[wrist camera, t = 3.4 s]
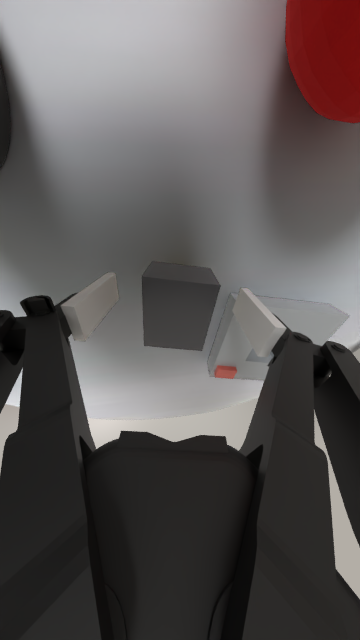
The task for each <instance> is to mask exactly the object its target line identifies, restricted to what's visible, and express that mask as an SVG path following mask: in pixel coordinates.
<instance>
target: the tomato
mask: <svg viewBox="0 0 360 640" xmlns="http://www.w3.org/2000/svg"><path fill="white" fill-rule="evenodd" d="M285 42H286V48H287V54H288V60H289V66H290V69H291V71H292V74H293V76H294V78H295V81H296V83H297V86H298V87H299V89H300V91H301V93H302V94H303V96H304V98H305V99H306V101H307V102H308V103H309V105H310V106H311V107H312V108H313V109H314V111H315V112H316V113H318V114H320V115H322V116H324V117H325V118H327V119H331V120H336V121H342V122H349V123H358V122H360V0H287V5H286V35H285Z"/></svg>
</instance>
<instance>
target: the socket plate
mask: <svg viewBox="0 0 360 640" xmlns="http://www.w3.org/2000/svg"><path fill="white" fill-rule="evenodd" d="M237 296H238V294H237V293H230V296H229V299H228V302H227V305H226V308H225V311H224V314H223V317H222V320H221V323H220V326H219V329H218V332H217V335H216V338H215V340H214V343H213V346H212V349H211V352H210V355H209V358H208V361H207V364H208V369H209V375H210V376H211V377H217V378H230V379H233V378H237V379H250V380H263V381H265V378H266V375H267V372H268V369H269V367H268V366H267V365H268V364H269V362H270V361H271V359H272V358H273V356H274V354H273V353H272V351H271V353H270V354H269V356H268V357H260V356H257V354H256V353H255V351H254V349H253V347H252V345H251V344H250V342H249V340H248V338H247V336H246V335H245V333H244V331H243V329H242V328H241V326H240V324H239V322H238V320H237V319H236V317H235V315H234V313H233V311H232V310H233V307H234V304H235V302H236V299H237ZM256 297H257V298H258V299H259V300H260V301H261V302H262V303H263V304H264V305H265V307H266V308H267V309H268V310H269V311H270V312H271V313H273V314H275V315H276V316H277V317H278V318H279V319H280V320H281V321H282V322H283V323H284V324H285V325H286V326H287V327H288V328H289V329H290V330H291V331H292V332H298V333H301V334H303V335H305V336H307V337H308V338H310V339H311V340H312V342H313V344H316V345H320V346H323V344H324V343H325V342H326V341H327V340H328V339H329V338H330V337H331V336H332V335H333V334H334V333H335V332H336V331H337V329H338V328H339V327H340V326H341V325H342V324H343V323H344V322H345V321H346V320H347V319H348V318H349V317H350V315H348V314H346V313H344V312H343V311H341V310H339V309H337V308H336V307H334V306H332V305H330V304H325V303H316V302H308V301H299V300H290V299H281V298H272V297H263V296H256Z"/></svg>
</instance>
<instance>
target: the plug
mask: <svg viewBox="0 0 360 640" xmlns="http://www.w3.org/2000/svg"><path fill="white" fill-rule="evenodd" d="M220 286H221V285H220V284H219V282H218V280H217V279H216V277H215V275H214V274H213V272H212V270H211V269H210V268H204V267H196V266H188V265H179V264H171V263H163V262H155V261H152V262H151V264H150V265H149V267H148V268H147V270H146V271H145V273H144V274H143V275H142V296H143V326H144V346H152V347H163V348H175V349H186V350H198V351H202V349H203V345H204V342H205V338H206V335H207V331H208V328H209V324H210V321H211V317H212V314H213V310H214V307H215V303H216V300H217V296H218V293H219V289H220Z"/></svg>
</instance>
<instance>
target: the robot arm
mask: <svg viewBox="0 0 360 640" xmlns="http://www.w3.org/2000/svg"><path fill="white" fill-rule="evenodd" d="M9 141H10V110H9V101H8V95H7V89H6V84H5V79H4V75H3V71H2V67H1V63H0V168H1V166H2V164H3V162H4V160H5V158H6V155H7V151H8V147H9ZM118 300H119V294H118V287H117V279H116V273H110V272H107V273H106V274H104V275H103V276H102V277H100V278H99V279H97V280H96V281H94V282H93V283H92V284H90V285H89V286H87V287H86V288H85V289H83V290H82V291H80V292H78V293H75V294H72V295H70V296H69V297H67V299H64V300H63V301H62V302H60V303H59V304H57V305H56V306H54V304H53V302H52V299H51V298H50V297H49V296H43V295H41V296H33V297H29V298H26V299H24V300H22V301H21V302H20V304H21V306H22V308H23V309H24V311H25V313H26V315H27V317H14V316H13V314H12V312H10V311H7V310H0V413H1V411H2V409H3V407H4V405H5V403H6V401H7V399H8V397H9V395H10V392H11V390H12V388H13V386H14V384H15V382H16V380H17V378H18V376H19V374H20V372H21V370H22V368H23V373H22V385H21V397H20V410H19V423H18V429H17V431H16V432H14V433H12V434H10V435H9V436H8V438H7V439H6V442H5V446H4V451H3V459H2V467H1V474H0V640H360V599H359V598H358V597H357V595H356V594H355V593H354V592H353V590H352V589H351V588H350V587H349V585H348V584H347V583H346V582H345V580H344V579H343V578H342V576H341V575H340V574H339V573H338V571H337V570H336V569H335V556H334V542H333V528H332V515H331V501H330V487H329V474H328V462H327V458H326V455H325V453H324V451H323V450H321V449H320V448H318V447H317V446H316V445H315V442H314V410H315V413H316V416H317V419H318V423H319V426H320V429H321V433H322V436H323V439H324V442H325V445H326V448H327V451H328V455H329V458H330V461H331V464H332V467H333V471H334V474H335V477H336V480H337V483H338V486H339V490H340V493H341V496H342V499H343V502H344V506H345V509H346V512H347V515H348V518H349V520H350V523H351V526H352V529H353V531H354V534H355V537H356V539H357V541H358V544H359V546H360V363H359V362H358V360H357V359H356V358H355V356H354V355H353V354H352V352H351V351H350V350H348V349H347V348H346V347H345V346H343V345H341V344H339V343H335V342H332V341H326V342H325V343H324V344H323V346H320V345H316V344H313V342H312V340H311V339H310V338H308V337H307V336H305V335H303V334H301V333H298V332H292V331H291V330H290V329H289V328H288V327H287V326H286V325H285V324H284V323H283V322H282V321H281V320H280V319H279V318H278V317H277V316H276V315H275V314H273V313H271V312H270V311H269V310H268V309H267V308H266V307H265V305H264V304H263V303H262V302H261V301H260V300H259V299H258V298H257V297H256V296H255V295H254V294H253V293H252V292H251V291H250V290H249V289H248V288H240V291H239V294H238V296H237V299H236V302H235V304H234V307H233V310H232V311H233V313H234V315H235V317H236V319H237V320H238V322H239V324H240V326H241V328H242V329H243V331H244V333H245V335H246V336H247V338H248V340H249V342H250V344H251V345H252V347H253V349H254V351H255V353H256V354H257V356H260V357H268V356H269V354H270V353H271V351H272V353H273V354H274V356H273V358H272V359H271V361H270V362H269V364H268V365H267V366H268V367H269V369H268V372H267V375H266V378H265V381H264V384H263V387H262V390H261V393H260V396H259V399H258V402H257V405H256V408H255V411H254V414H253V417H252V420H251V423H250V426H249V430H248V433H247V436H246V439H245V441H244V443H243V445H242V447H241V449H240V450H239V451H237V450H236V449H235V448H233V447H231V446H229V445H227V442H226V437H225V436H207V435H199V436H196V437H192V438H189V439H185V440H182V441H178V442H171V441H169V440H166V439H164V438H161V437H158V436H156V435H153V434H151V433H148V432H134V431H133V432H132V431H121V433H120V437H119V439H116V440H113V441H111V442H108V443H106V444H104V445H103V446H101V447H99V448H98V449H96V447H95V444H94V441H93V438H92V436H91V432H90V428H89V424H88V420H87V415H86V411H85V407H84V402H83V398H82V394H81V389H80V385H79V381H78V376H77V372H76V368H75V363H74V359H73V355H72V351H71V346H70V342H69V339H68V337H69V336H70V335H71V334H72V336H73V338H74V340H78V341H86V340H87V339H88V337H89V336H90V335H91V334H92V332H93V331H94V330H95V329H96V327H97V326H98V325H99V324H100V322H101V321H102V320H103V319H104V317H105V316H106V315H107V313H108V312H109V311H110V310H111V308H112V307H113V306H114V305H115V303H116V302H117V301H118ZM330 374H331V376H330V377H329V375H330Z"/></svg>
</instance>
